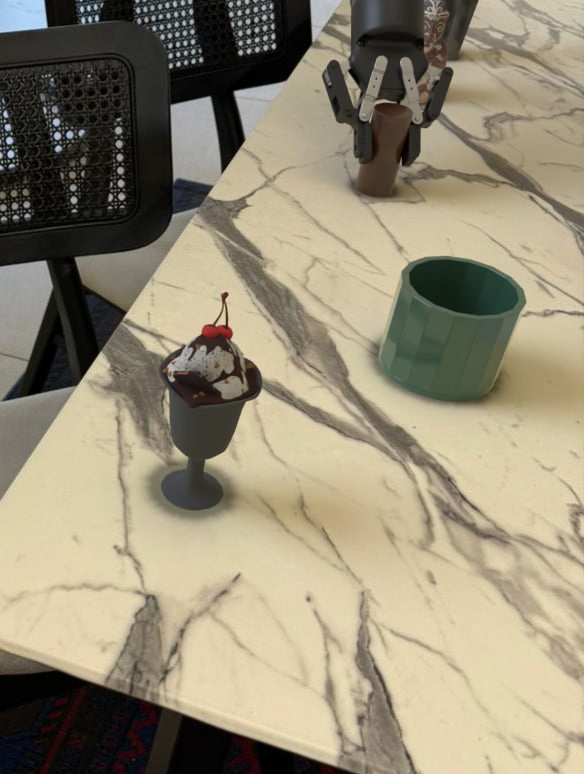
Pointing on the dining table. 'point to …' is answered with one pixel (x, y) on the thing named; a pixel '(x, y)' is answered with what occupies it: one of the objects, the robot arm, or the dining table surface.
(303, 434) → the dining table surface
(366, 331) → the dining table surface
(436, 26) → the figurine
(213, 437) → the sundae
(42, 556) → the dining table surface
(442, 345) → the crock
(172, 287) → the dining table surface
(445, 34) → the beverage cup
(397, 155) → the pestle
